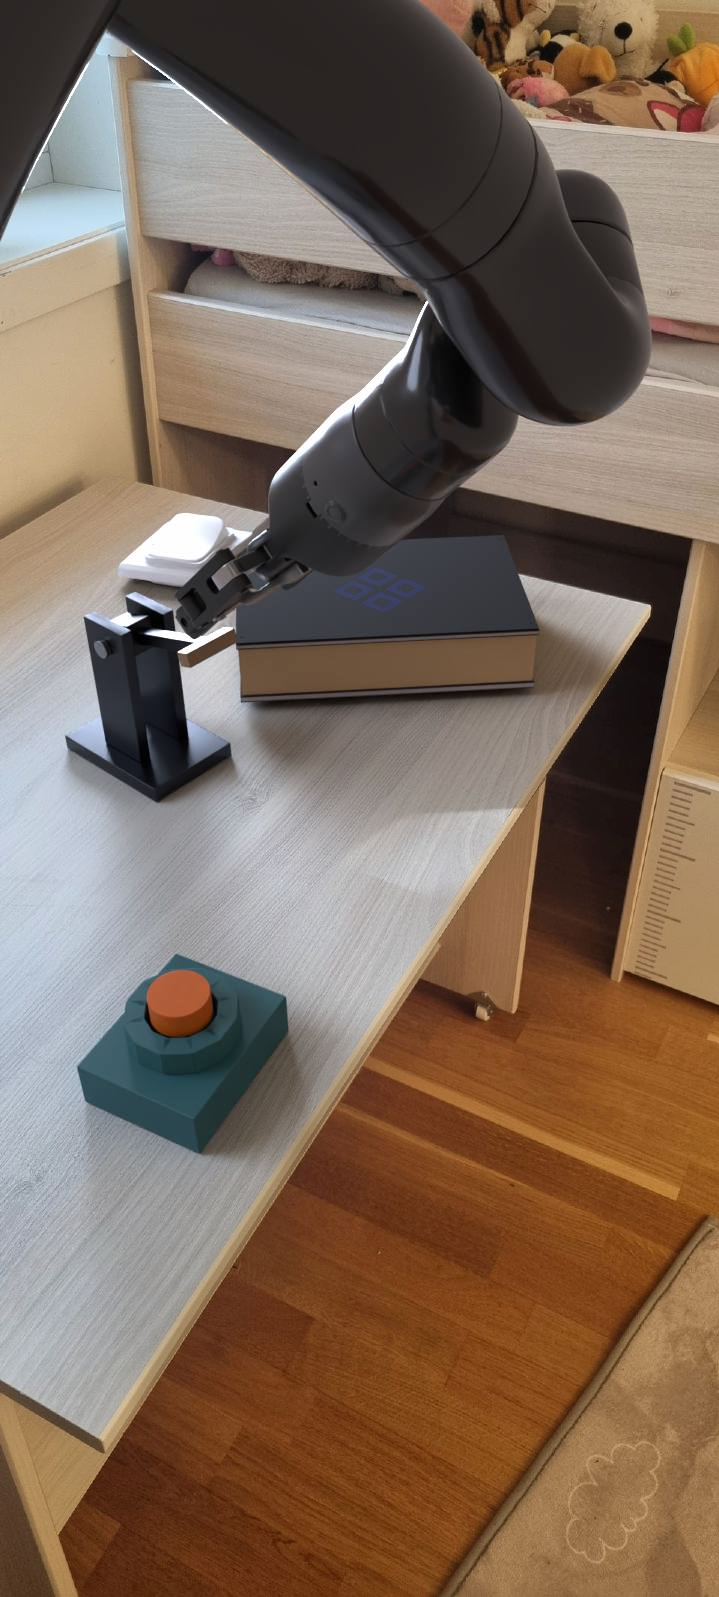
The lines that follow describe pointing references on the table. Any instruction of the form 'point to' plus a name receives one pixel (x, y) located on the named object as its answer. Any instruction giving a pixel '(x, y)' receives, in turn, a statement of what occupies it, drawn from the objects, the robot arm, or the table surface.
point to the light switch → (180, 549)
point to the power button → (180, 1003)
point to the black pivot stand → (142, 710)
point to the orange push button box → (185, 1059)
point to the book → (393, 627)
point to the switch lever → (175, 640)
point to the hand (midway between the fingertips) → (234, 600)
